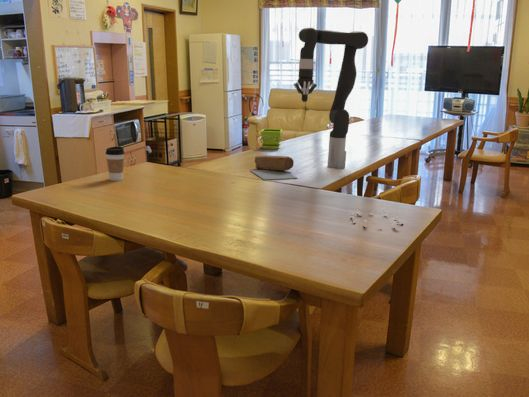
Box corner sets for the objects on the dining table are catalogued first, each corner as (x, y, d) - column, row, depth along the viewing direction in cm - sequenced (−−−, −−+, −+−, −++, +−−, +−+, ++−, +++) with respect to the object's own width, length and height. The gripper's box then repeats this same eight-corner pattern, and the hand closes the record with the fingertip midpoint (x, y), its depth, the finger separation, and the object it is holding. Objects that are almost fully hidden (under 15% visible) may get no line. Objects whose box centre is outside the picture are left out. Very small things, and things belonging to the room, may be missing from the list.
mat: (281, 170, 266) (281, 169, 265) (297, 178, 246) (297, 177, 245) (250, 171, 259) (250, 170, 259) (264, 180, 239) (264, 179, 239)
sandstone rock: (283, 157, 253) (253, 155, 265) (283, 171, 254) (253, 169, 266) (294, 155, 261) (265, 154, 273) (294, 169, 263) (265, 167, 275)
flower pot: (262, 146, 347) (263, 128, 343) (282, 147, 345) (282, 129, 342) (259, 149, 333) (260, 130, 330) (279, 150, 331) (280, 131, 328)
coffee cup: (129, 178, 231) (128, 147, 228) (117, 182, 224) (115, 149, 220) (115, 176, 235) (114, 145, 231) (102, 179, 227) (101, 148, 224)
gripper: (314, 68, 260) (312, 101, 265) (291, 67, 256) (290, 101, 260) (320, 68, 253) (318, 102, 258) (297, 67, 249) (295, 102, 253)
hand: (304, 101), depth 259 cm, fingers closed
